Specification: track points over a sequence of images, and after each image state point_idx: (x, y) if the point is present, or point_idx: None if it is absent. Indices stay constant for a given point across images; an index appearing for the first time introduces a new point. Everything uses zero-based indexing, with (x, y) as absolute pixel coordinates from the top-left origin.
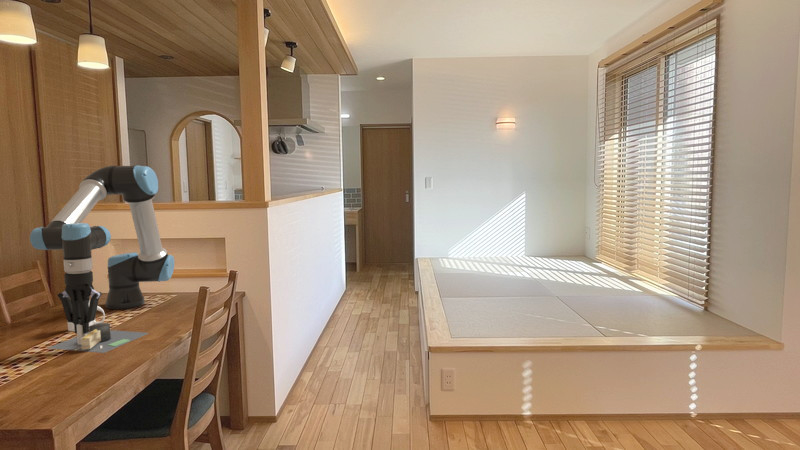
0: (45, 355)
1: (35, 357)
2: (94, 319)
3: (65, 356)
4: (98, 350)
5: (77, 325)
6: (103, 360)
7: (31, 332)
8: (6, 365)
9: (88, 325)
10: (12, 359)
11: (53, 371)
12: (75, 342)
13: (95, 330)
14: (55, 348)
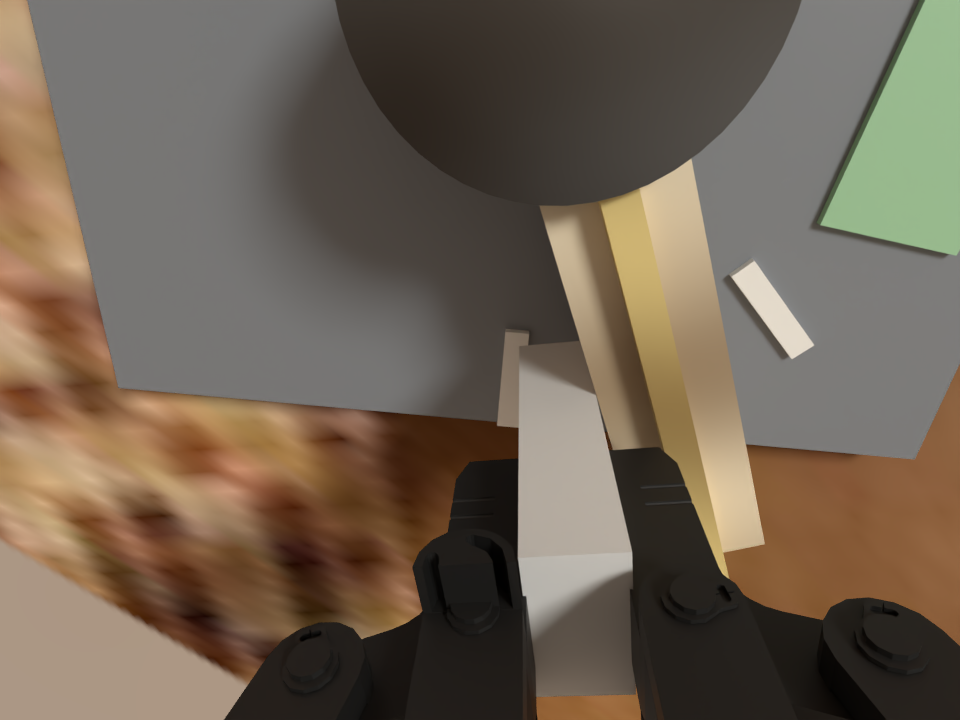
0: (239, 453)
1: (201, 499)
2: (923, 628)
3: (459, 460)
4: (797, 404)
5: (557, 682)
6: (930, 518)
7: None
8: (165, 636)
9: (708, 552)
10: (62, 546)
11: (628, 702)
12: (255, 165)
13: (653, 252)
14: (228, 390)
